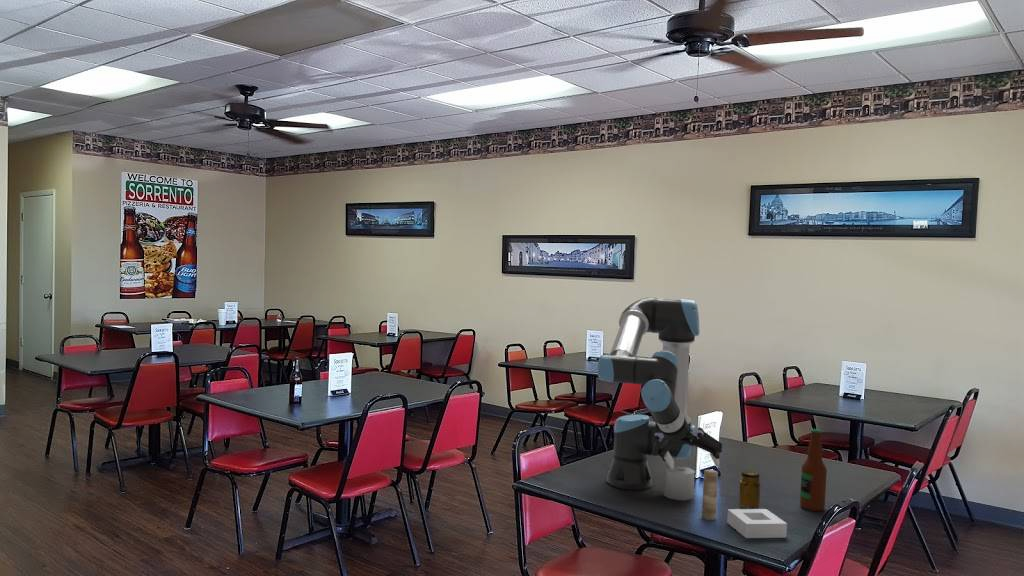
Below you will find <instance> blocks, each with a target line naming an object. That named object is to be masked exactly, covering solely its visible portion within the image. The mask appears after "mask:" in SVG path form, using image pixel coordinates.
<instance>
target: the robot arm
mask: <svg viewBox="0 0 1024 576" xmlns="http://www.w3.org/2000/svg"><path fill="white" fill-rule="evenodd" d="M698 308H699V307H698V304H697V302H696V301H695V300H693V299H685V298H673V297H672V298H669V297H668V298H667V297H651V296H649V297H644V298H640V299H639V300H636V301H634V302H633V303H631V304H629V305H628V306H627V307H626V308H625V309H624V310H623V311H622V312H621V314H620V317H619V320H618V326H619V328H618V330H617V334H616V337H615V340H614V342H613V345H612V348H611V350H610V353H609V354H602V355H600V356H599V358H598V361H597V377H598V379H599V380H600V381H602V382H609V383H617V384H618V383H621V384H632V385H633V384H634V385H644V386H643V387H642V388H641V390H640V394H641V399H642V401H643V403H644V405H645V407H646V408H647V410H649V412H650V415H651V416H652V417H653V419H654V420H651V418H650V416H649V415H647V414H646V415H645V414H627V415H622V416H619V417H617V418H616V420H615V421H614V429H613V434H614V435H613V455H612V462H611V463H610V464H611V465H610V467H609V469H608V472H607V475H606V482H608V483H609V484H608V483H607V484H608V485H610V486H612V487H614V486H615V487H614V488H617V489H622V490H623V489H624V490H631V491H632V490H633V491H637V490H638V491H639V490H646V489H650V488H651V487H652V485H653V483H652V481H653V478H652V474H651V471H650V470H651V469H650V467H649V463H648V456H650V457H659V458H661V459H662V461H663V462H664V463H665V462H666V464H667V465H668V466H669V467H670V468H671V470H672V469H674V466H675V460H687V459H689V457H690V456H691V452H692V448H693V447H696V448H699V449H701V450H703V451H705V452H708V453H709V456H710V457H711V460H712V461H713V463H714V465H715V467H716V468H720V460H721V459H720V453H722V452H723V444H722V442H720V441H718V440H717V439H716V438H714V437H713V436H711V435H710V434H708V433H707V432H706V431H705V430H704V429H703V428H702V427H698V428H697V429H696V425H694V424H693V423H692V419H691V418H690V416H688V414H687V413H688V411H687V410H688V393H689V392H688V389H689V365H690V346H691V345H692V344H693V343H694V342H695V340H696V339H695V337H698V336H700V317H699V309H698ZM646 333H652V334H658V340H659V342H661V344H662V350H660V351H656V352H655V353H653V354H652V356H651V357H650V358H648V357H639V356H637V355H638V352H639V349H640V346H641V345H640V344H641V342H642V339H643V336H644V335H646Z"/></svg>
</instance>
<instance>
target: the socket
mask: <svg viewBox="0 0 1024 576" xmlns="http://www.w3.org/2000/svg"><path fill="white" fill-rule="evenodd" d="M728 523H729V524H730V527H732V528H733V529H734V530H735V529H736V531H737V532H738V533H739V534H740V535H741V536H743V537H744V538H745V539H769V538H770V539H771V538H772V539H773V538H774V539H775V538H777V539H778V538H780V539H781V538H783V539H785V538H787V529H788V523H787V522H786V521H784V520H783V519H782V518H780V517H779V516H777V515H776V514H774V513H772V512H771V511H769V509H766V508H759V509H738V508H731V509H729V508H728V509H727V517H726V524H728ZM729 524H728V525H729Z"/></svg>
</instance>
